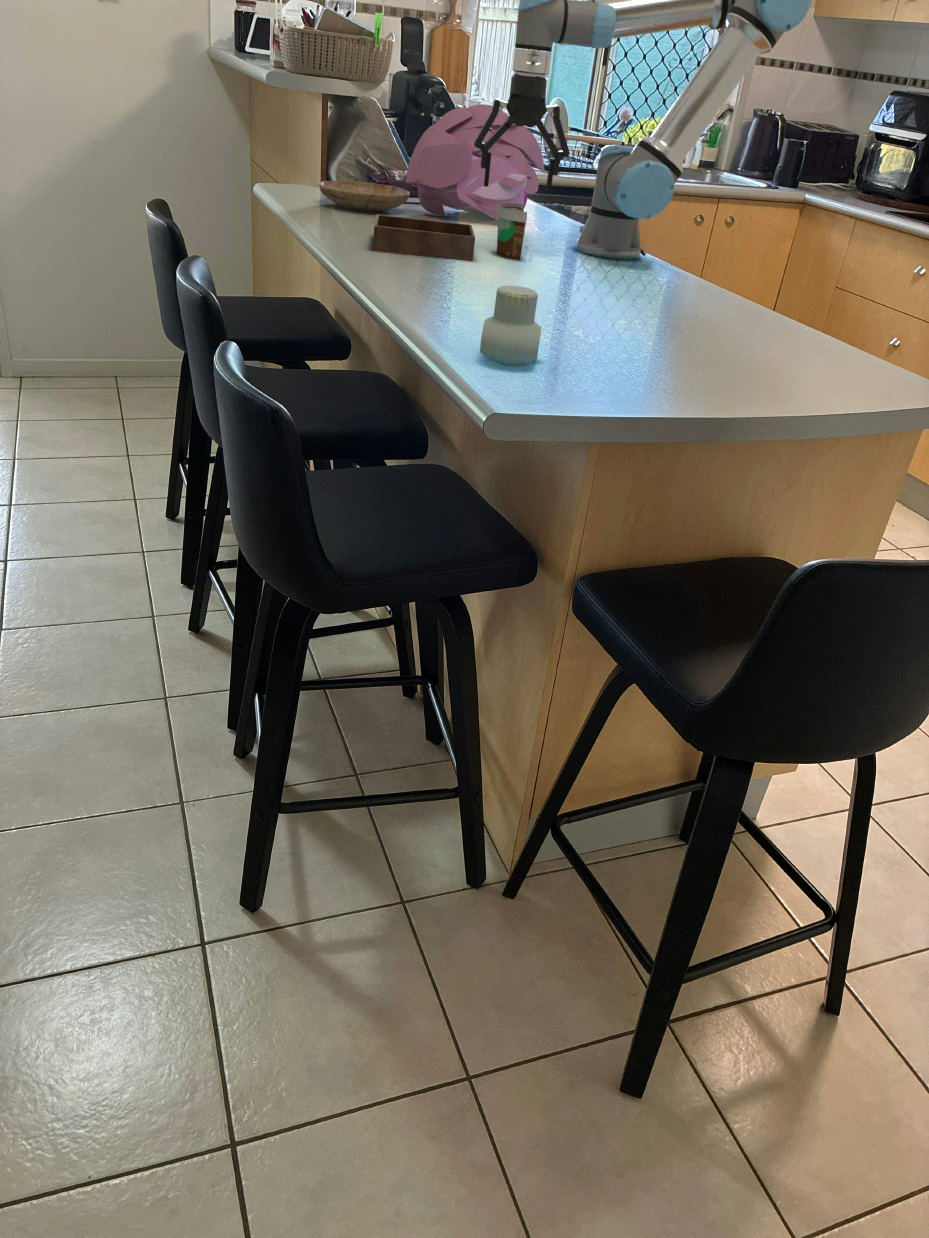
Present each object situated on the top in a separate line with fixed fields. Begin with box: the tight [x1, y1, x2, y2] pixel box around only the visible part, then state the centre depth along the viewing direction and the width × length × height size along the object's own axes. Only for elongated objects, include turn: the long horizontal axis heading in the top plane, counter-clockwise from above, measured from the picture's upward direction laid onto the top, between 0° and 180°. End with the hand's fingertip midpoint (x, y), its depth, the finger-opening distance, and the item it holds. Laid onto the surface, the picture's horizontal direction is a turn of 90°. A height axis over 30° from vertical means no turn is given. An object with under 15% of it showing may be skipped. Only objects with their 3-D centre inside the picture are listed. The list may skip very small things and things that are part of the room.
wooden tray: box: [372, 213, 476, 262], centre depth 198 cm, size 21×15×5 cm
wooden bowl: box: [318, 179, 410, 212], centre depth 237 cm, size 23×24×5 cm
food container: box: [495, 203, 528, 261], centre depth 202 cm, size 12×6×10 cm, turn 2°
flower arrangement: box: [405, 103, 546, 222], centre depth 238 cm, size 35×24×28 cm
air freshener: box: [479, 285, 542, 366], centre depth 132 cm, size 11×8×10 cm
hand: (517, 189), depth 197 cm, fingers open, 13 cm apart
